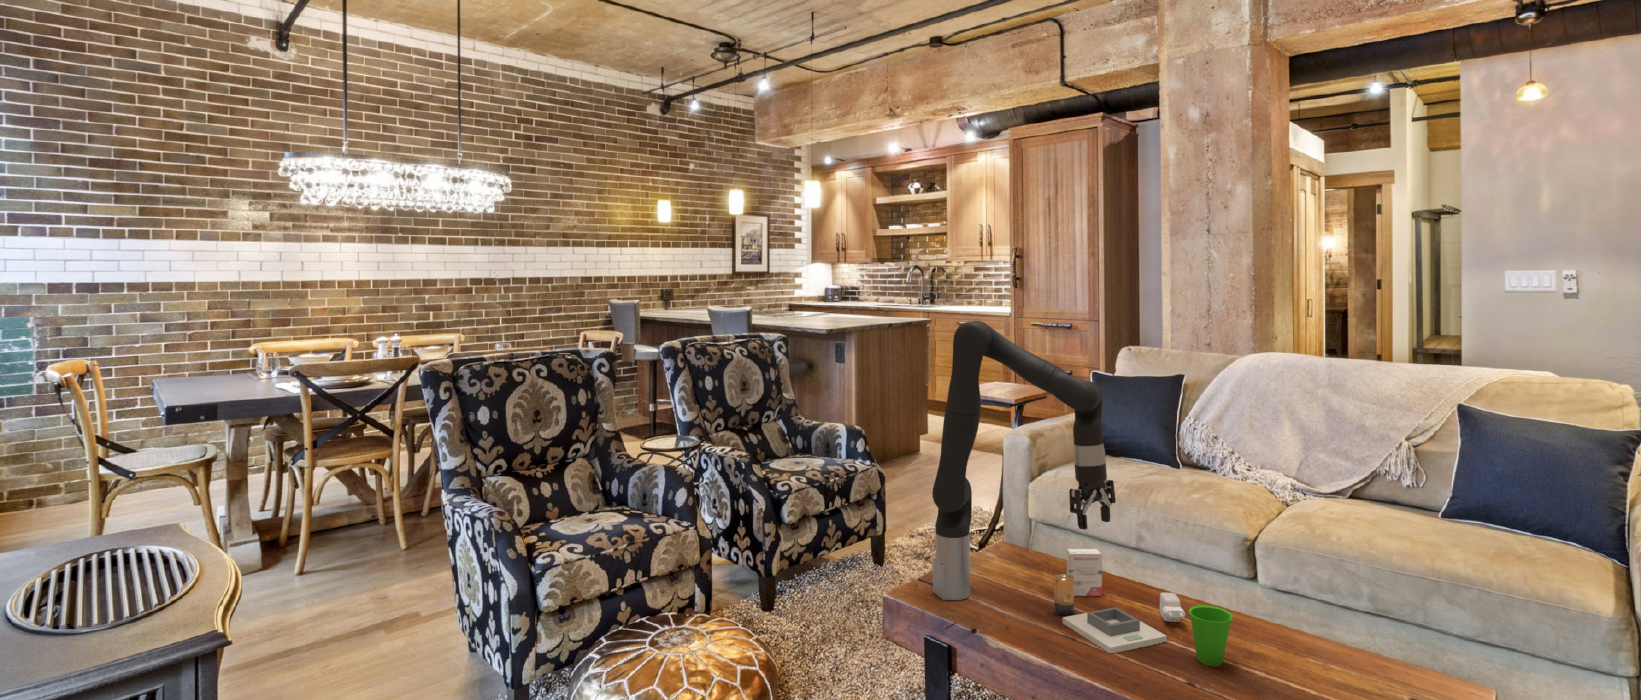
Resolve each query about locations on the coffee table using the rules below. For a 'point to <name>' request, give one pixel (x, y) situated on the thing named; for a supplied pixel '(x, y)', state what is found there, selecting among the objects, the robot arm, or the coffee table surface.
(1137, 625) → the board
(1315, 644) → the coffee table surface
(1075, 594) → the ink box
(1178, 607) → the power adapter
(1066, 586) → the battery cell
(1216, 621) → the cup
